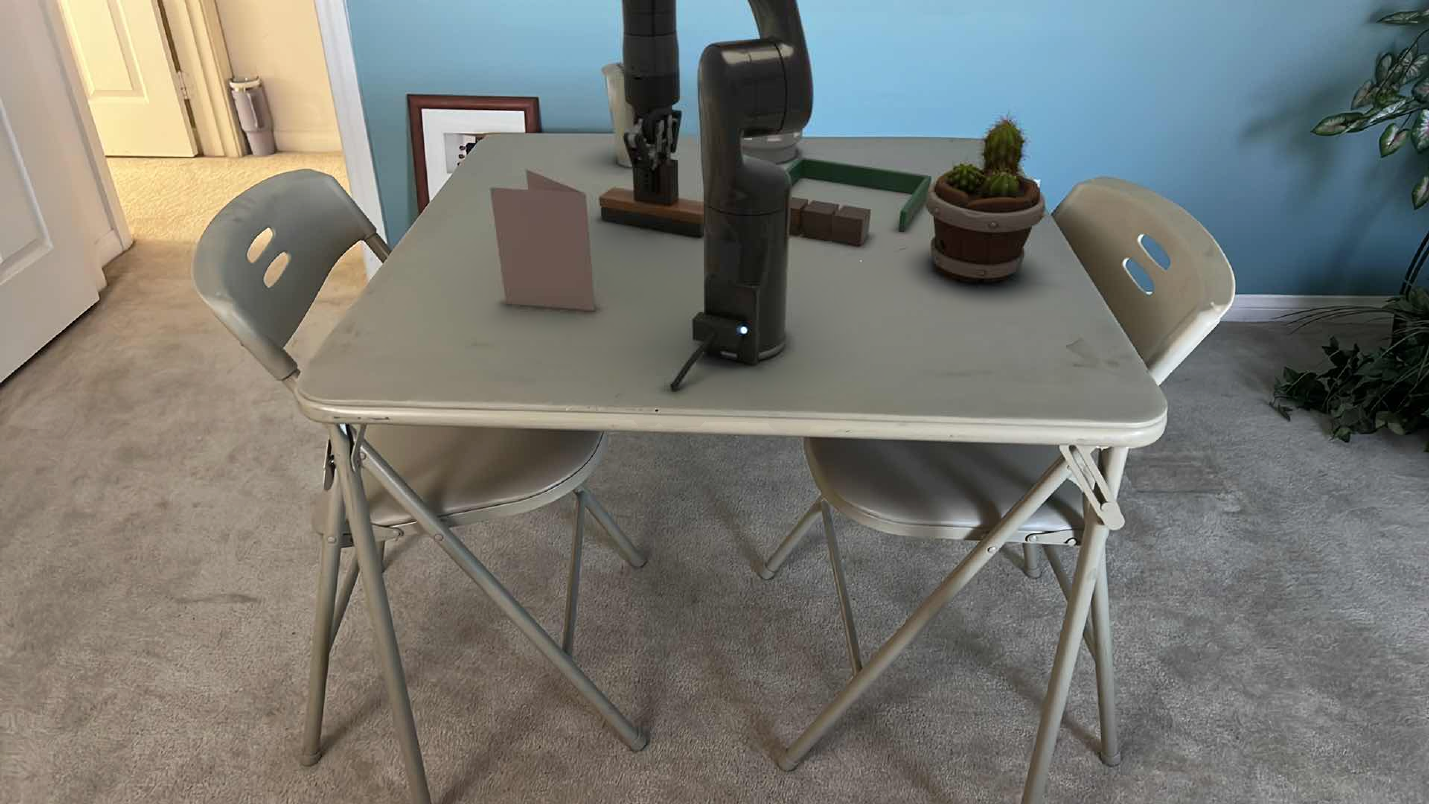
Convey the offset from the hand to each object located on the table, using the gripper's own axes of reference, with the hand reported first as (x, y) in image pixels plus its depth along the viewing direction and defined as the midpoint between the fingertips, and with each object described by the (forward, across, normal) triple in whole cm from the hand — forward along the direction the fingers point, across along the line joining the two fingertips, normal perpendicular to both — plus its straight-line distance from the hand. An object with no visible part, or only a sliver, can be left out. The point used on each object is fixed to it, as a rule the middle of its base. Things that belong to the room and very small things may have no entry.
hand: (655, 189), depth 135 cm
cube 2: (+5, -6, +23) cm, 24 cm away
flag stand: (+5, -35, +3) cm, 36 cm away
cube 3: (+5, -6, +18) cm, 20 cm away
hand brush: (+5, 0, 0) cm, 5 cm away
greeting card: (+5, +28, -1) cm, 29 cm away
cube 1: (+5, -6, +28) cm, 29 cm away
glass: (+5, -23, -15) cm, 28 cm away
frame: (+5, -19, +23) cm, 30 cm away
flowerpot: (+5, -3, +45) cm, 46 cm away
